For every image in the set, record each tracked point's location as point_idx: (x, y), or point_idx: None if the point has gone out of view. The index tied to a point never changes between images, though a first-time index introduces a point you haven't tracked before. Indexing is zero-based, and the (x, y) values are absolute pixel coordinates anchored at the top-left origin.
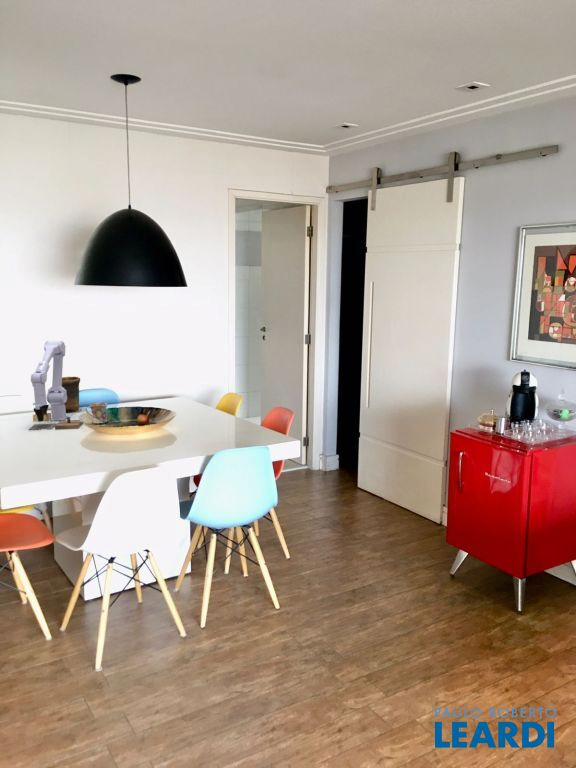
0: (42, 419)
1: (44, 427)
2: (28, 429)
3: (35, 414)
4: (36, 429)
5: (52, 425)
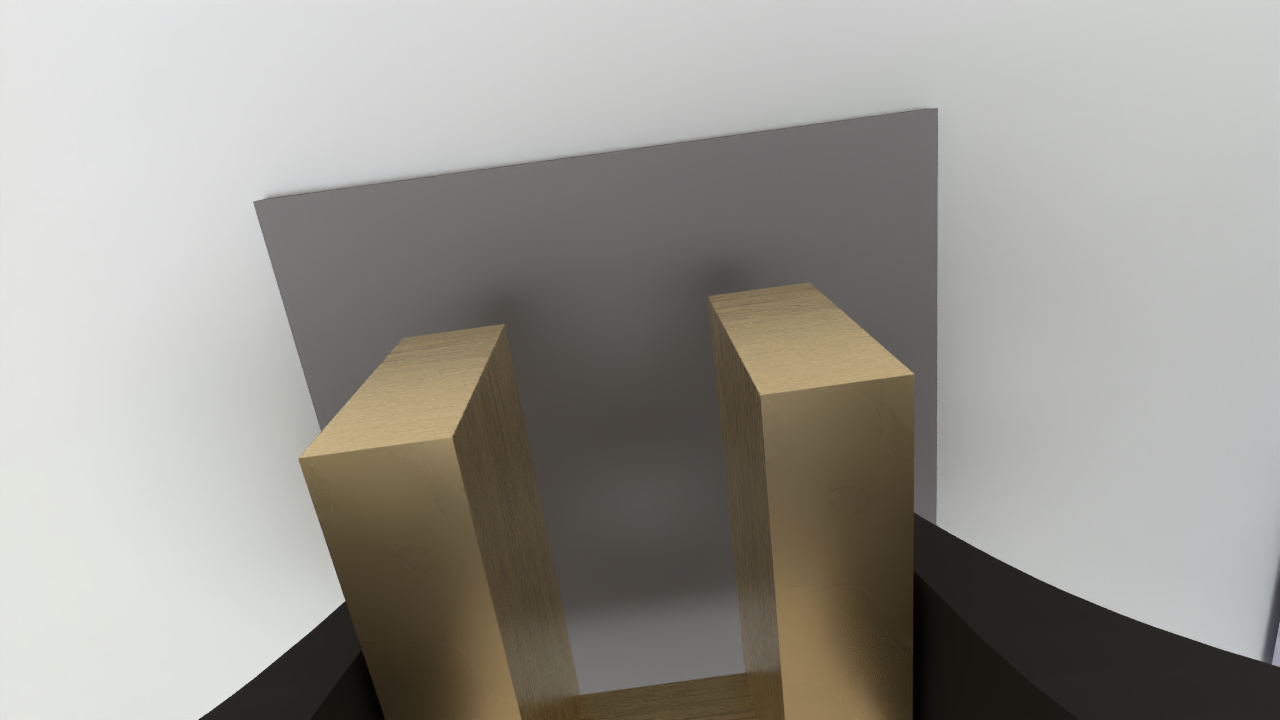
0: None
1: None
2: (263, 205)
3: (748, 403)
4: (324, 418)
5: (717, 648)
